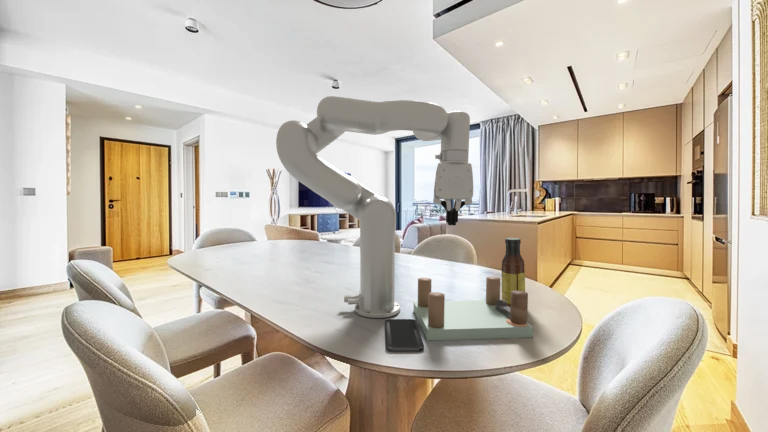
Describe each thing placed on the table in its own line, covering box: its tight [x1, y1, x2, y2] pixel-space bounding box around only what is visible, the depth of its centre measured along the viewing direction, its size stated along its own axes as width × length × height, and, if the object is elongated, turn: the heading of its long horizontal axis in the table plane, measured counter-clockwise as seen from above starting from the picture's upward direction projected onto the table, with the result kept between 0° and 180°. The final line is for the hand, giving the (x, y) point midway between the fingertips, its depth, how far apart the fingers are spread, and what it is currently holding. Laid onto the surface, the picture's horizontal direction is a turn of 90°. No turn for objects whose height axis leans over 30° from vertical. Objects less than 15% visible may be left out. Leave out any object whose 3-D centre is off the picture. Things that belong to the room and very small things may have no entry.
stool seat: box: [413, 276, 534, 341], centre depth 77 cm, size 24×18×9 cm
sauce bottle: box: [501, 237, 526, 308], centre depth 88 cm, size 7×6×20 cm
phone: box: [384, 318, 425, 353], centre depth 70 cm, size 8×1×15 cm
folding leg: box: [495, 291, 529, 324], centre depth 75 cm, size 11×4×7 cm, turn 8°
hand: (451, 224), depth 86 cm, fingers closed
